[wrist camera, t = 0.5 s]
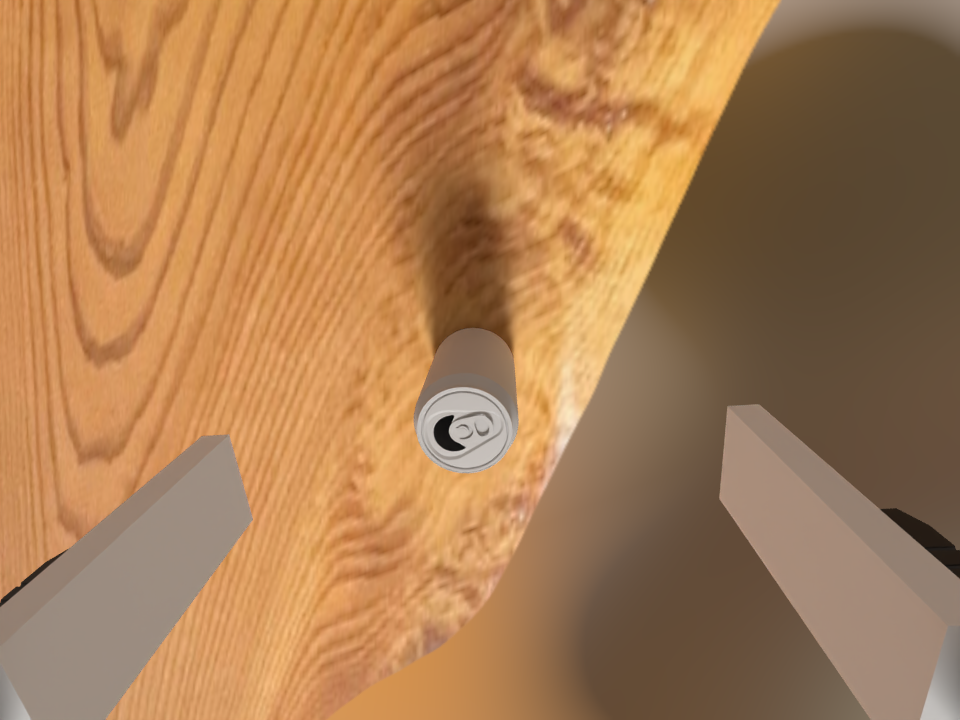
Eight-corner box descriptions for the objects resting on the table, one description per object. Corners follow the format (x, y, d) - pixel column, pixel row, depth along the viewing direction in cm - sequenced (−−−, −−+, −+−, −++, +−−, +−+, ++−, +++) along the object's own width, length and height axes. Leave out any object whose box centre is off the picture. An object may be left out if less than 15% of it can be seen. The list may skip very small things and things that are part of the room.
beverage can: (424, 337, 40) (393, 398, 29) (501, 315, 39) (500, 368, 28) (449, 407, 42) (430, 490, 30) (523, 387, 41) (531, 465, 30)
